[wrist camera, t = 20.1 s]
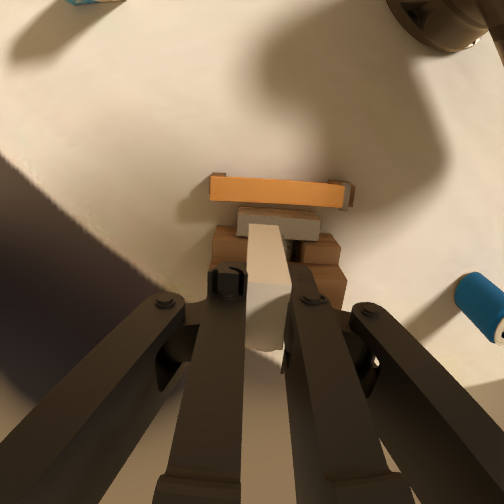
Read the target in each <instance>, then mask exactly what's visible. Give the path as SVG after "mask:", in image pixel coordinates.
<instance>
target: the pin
mask: <svg viewBox="0 0 504 504" xmlns="http://www.w3.org/2000/svg"><path fill="white" fill-rule="evenodd" d="M249 224H264V225H278V226H279V231H280V235H281V239H282V244H283V248H284V252H285V257H286V261H287V262H291V256H292V248H293V240H306V241H318V238H319V231H320V224H321V220H320V219H319V217H318V216H317V214H316V213H315V212H311V211H299V210H286V209H272V208H258V207H242V206H239V210H238V220H237V236H246V237H248V232H249ZM257 350H259V351H264V352H270V351H274V349H257Z"/></svg>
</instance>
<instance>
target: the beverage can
mask: <svg viewBox="0 0 504 504" xmlns="http://www.w3.org/2000/svg"><path fill="white" fill-rule="evenodd" d="M454 300H455V304H456V305H457V306H458V307H459V308H460V310H461V311H462V312H463V313H464V314H465V315H466V316H467V317H468V318H469V319H470V320H471V321H472V322H473V323H474V324H475V326H476V327H477V328H478V329H479V330H480V331H481V332H482V333H483V334H484V335H485V337H486V338H487V339H488V340H489V341H490V342H492V343H496V344H497V345H504V292H503V291H501V290H500V289H499V288H498V287H497V286H495V285H494V284H493V283H492V282H491V281H489V280H488V279H487V278H486V277H484V276H483V275H482V274H480V273H478V272H472V273H469V274H468V275H466V276H465V277H464V278H463V279H462V280H461V281H460V282H459V284H458V286H457V288H456V290H455V295H454Z"/></svg>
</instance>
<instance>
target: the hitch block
mask: <svg viewBox="0 0 504 504" xmlns="http://www.w3.org/2000/svg"><path fill="white" fill-rule="evenodd" d="M211 176H221V177H226V173H212V174H211ZM211 176H210V182H211ZM342 182H345V181H336V180H328V184H337V185H342ZM345 183H349V182H345ZM350 184H351V183H350ZM354 192H355V186H354V185H352V184H351V189H350V197H349V204H348V207H353V200H354ZM209 194H210V188H209ZM247 247H248V237H246V236H237V227H223V226H217V228H216V231H215V234H214V237H213V247H212V260H211V263H210V267H209V270H210V269H211V268H213V267H215V266H218V265H219V264H220V263H222V262H223V261H234V262H247ZM340 251H341V247H340V246H339V245H338V243H337V242H336V240H335V239H334V238H333V236H332V235H331V234H327V233H319V238H318V241H306V240H298V248H297V256H296V262H287V264H295V265H305V266H306V267H308V268H309V269H310V270H311V271H312V274H313V277H314V279H315V282H316V285H317V287H318V290H319V293H321V294H323V295H324V296H326V297H327V298H328V299H329V300H330V303H331V305H332V308H335V309H338V310H341V308H342V304H343V299H344V295H345V290H346V285H347V279H346V277H345V276H344V274H343V272H342V270H341V269H340V267H339V265H338V263H339V257H340ZM209 270H208V271H209Z"/></svg>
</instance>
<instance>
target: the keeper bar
mask: <svg viewBox="0 0 504 504" xmlns="http://www.w3.org/2000/svg"><path fill="white" fill-rule="evenodd" d="M350 189H351V184H350V183H345V182H342V185H337V184H327V183H316V182H304V181H291V180H277V179H261V178H243V177H221V176H211V182H210V200H214V201H239V202H260V203H279V204H295V205H310V206H324V207H337V208H339V210H342V211H348V204H349V197H350Z"/></svg>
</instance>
